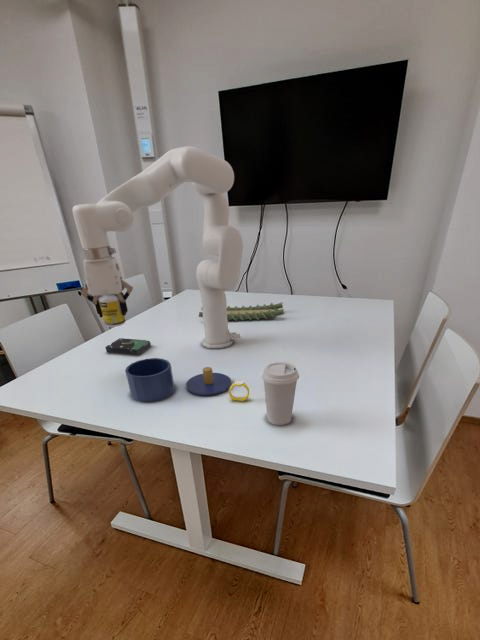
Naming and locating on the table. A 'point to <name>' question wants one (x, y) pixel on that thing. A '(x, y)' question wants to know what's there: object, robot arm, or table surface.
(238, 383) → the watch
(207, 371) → the lid
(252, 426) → the table surface
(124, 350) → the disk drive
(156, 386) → the tin
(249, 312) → the green spiky bar
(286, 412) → the coffee cup
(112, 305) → the pill bottle
